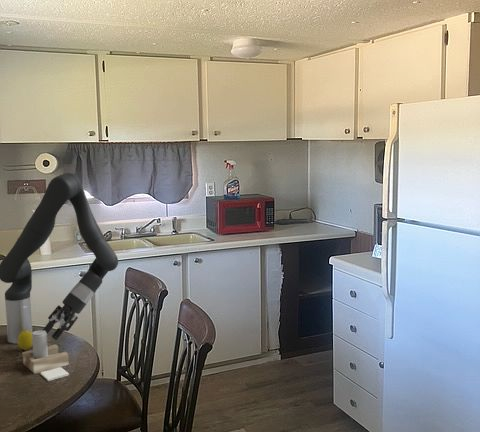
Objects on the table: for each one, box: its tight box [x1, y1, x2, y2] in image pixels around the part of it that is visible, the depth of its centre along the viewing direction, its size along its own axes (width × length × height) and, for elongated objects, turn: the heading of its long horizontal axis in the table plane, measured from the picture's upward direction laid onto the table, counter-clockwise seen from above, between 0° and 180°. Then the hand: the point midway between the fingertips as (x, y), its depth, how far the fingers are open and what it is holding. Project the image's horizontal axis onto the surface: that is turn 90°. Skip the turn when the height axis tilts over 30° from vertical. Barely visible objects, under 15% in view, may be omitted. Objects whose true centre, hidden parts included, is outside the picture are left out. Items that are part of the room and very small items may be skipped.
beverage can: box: [32, 329, 49, 359], centre depth 190 cm, size 5×5×12 cm
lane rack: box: [21, 344, 70, 375], centre depth 192 cm, size 12×12×4 cm
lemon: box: [17, 330, 33, 351], centre depth 204 cm, size 6×6×8 cm
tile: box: [40, 367, 70, 382], centre depth 183 cm, size 7×7×1 cm
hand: (49, 335), depth 192 cm, fingers open, 8 cm apart
